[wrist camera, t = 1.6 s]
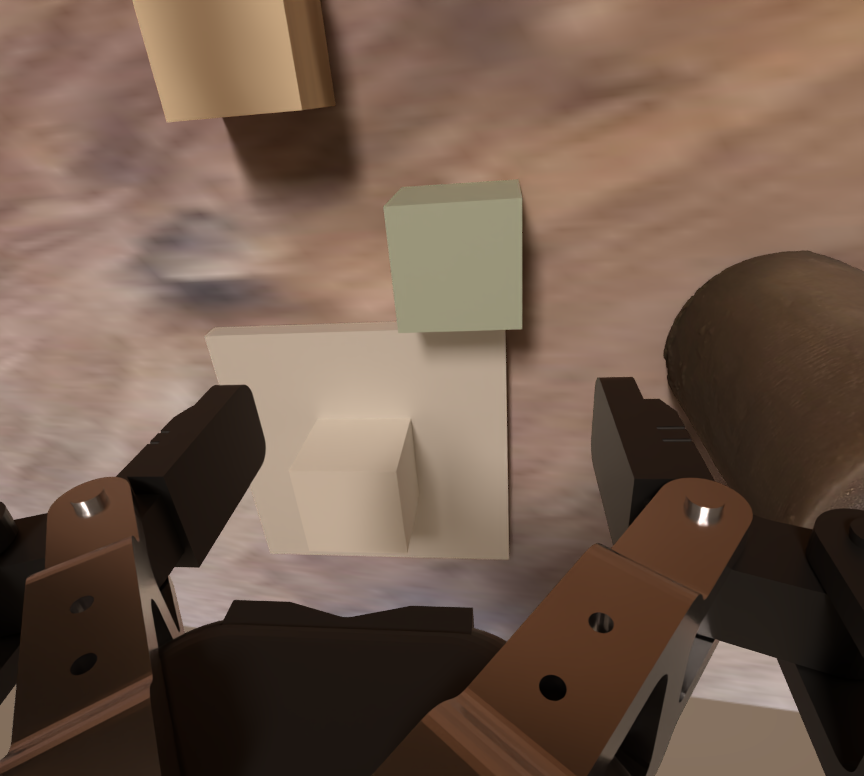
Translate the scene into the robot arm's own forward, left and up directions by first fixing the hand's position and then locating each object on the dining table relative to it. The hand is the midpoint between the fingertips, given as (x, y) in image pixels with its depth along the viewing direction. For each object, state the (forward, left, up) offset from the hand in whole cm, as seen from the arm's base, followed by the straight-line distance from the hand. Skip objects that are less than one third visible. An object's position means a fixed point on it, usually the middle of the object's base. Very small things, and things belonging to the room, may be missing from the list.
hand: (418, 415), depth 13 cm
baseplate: (+6, +12, -16) cm, 21 cm away
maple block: (+8, -9, -16) cm, 20 cm away
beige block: (+6, +12, -15) cm, 20 cm away
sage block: (0, 0, -16) cm, 16 cm away
